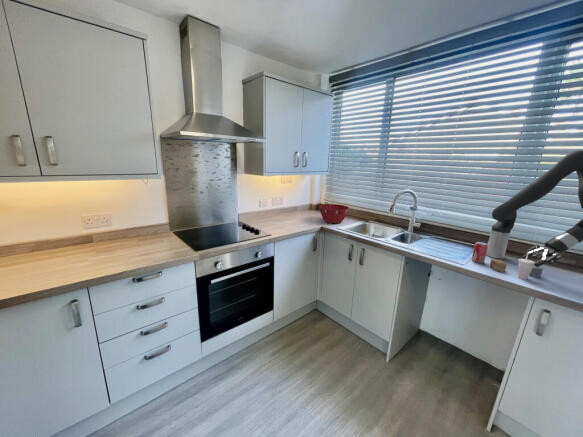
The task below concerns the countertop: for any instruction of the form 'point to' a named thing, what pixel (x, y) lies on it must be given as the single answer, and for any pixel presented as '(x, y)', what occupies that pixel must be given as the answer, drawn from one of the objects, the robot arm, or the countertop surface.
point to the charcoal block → (536, 272)
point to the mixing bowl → (333, 212)
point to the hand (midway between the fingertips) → (528, 262)
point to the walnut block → (498, 265)
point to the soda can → (479, 252)
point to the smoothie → (525, 268)
